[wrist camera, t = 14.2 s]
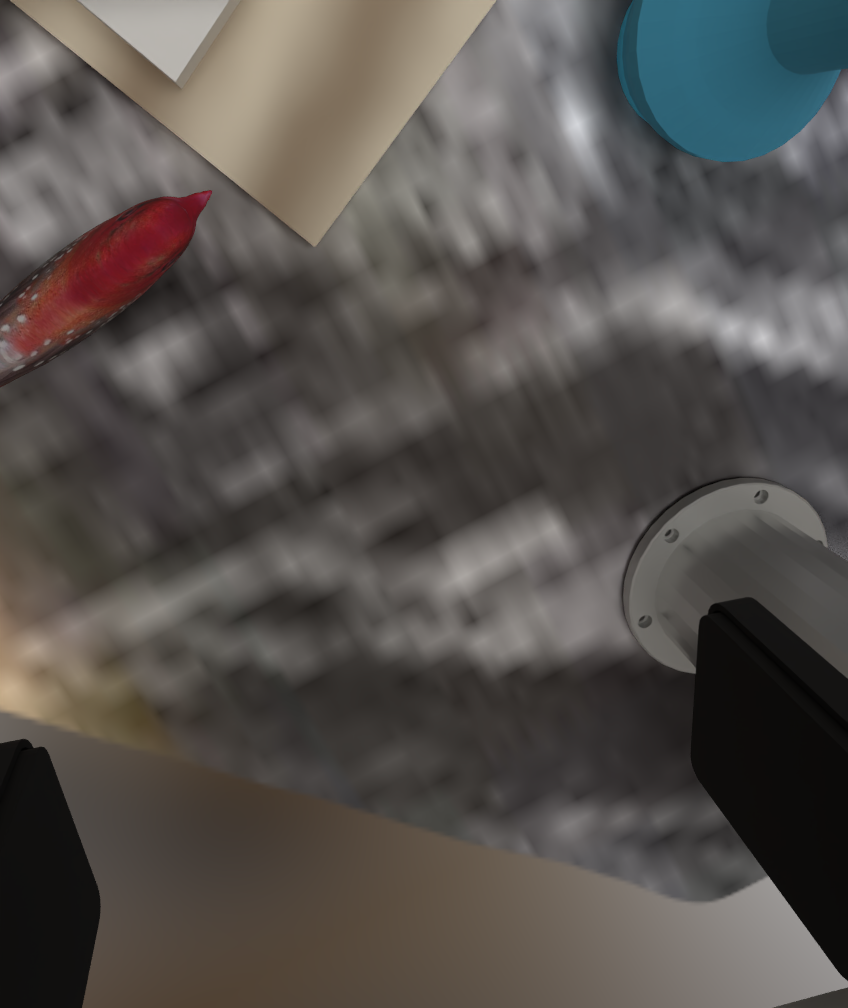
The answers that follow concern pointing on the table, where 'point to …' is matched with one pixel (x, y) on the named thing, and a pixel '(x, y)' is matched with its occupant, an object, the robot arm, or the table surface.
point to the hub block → (166, 29)
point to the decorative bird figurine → (92, 281)
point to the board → (288, 89)
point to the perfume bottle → (731, 70)
